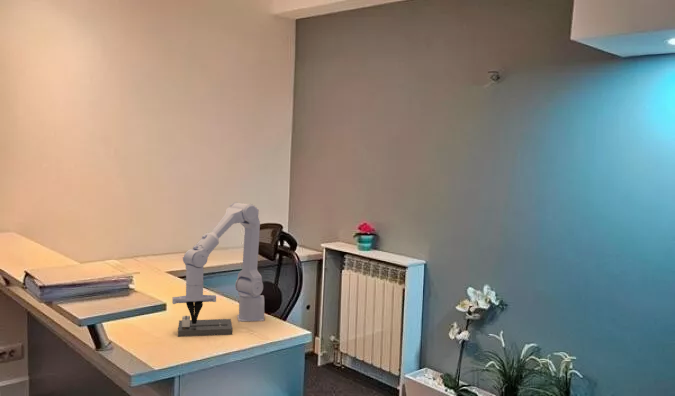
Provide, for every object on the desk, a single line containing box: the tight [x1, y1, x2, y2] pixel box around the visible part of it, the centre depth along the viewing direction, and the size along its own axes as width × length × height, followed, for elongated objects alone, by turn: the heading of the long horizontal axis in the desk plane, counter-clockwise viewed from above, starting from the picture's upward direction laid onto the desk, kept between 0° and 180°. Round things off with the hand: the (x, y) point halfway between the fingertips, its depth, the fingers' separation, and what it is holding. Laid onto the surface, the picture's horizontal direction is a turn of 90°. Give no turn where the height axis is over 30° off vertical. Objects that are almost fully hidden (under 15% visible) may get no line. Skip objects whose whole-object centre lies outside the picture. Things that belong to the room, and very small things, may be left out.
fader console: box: [177, 318, 233, 338], centre depth 205 cm, size 18×12×2 cm, turn 103°
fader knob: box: [181, 315, 191, 327], centre depth 203 cm, size 2×5×3 cm, turn 13°
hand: (194, 323), depth 203 cm, fingers closed
